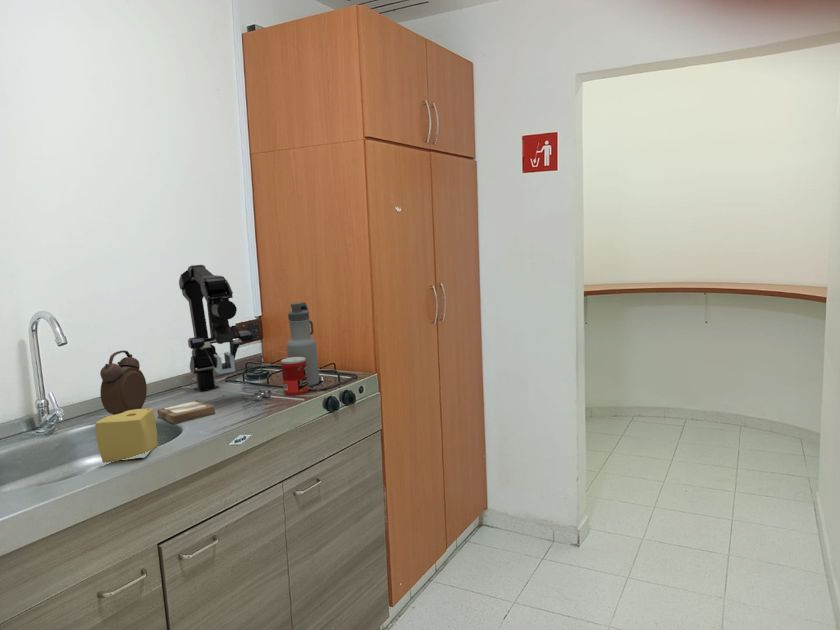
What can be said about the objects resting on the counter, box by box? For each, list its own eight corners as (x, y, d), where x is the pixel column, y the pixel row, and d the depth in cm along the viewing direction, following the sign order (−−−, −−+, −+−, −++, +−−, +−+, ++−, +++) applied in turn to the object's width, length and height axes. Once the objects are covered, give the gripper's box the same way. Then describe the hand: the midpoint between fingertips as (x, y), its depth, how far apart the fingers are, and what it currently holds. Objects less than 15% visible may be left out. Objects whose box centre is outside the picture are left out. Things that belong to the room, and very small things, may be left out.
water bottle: (296, 381, 216) (289, 302, 213) (323, 380, 215) (316, 300, 211) (286, 388, 207) (278, 305, 203) (314, 387, 205) (306, 304, 201)
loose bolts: (244, 400, 195) (244, 393, 194) (261, 393, 202) (261, 387, 201) (259, 401, 192) (259, 394, 192) (276, 394, 199) (275, 387, 199)
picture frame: (158, 417, 182) (157, 408, 182) (197, 407, 190) (196, 399, 190) (174, 424, 173) (173, 415, 173) (214, 413, 181) (213, 405, 181)
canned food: (303, 395, 196) (300, 361, 194) (280, 395, 197) (276, 362, 196) (312, 389, 203) (309, 356, 202) (289, 389, 205) (286, 357, 203)
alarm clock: (130, 410, 192) (121, 347, 189) (151, 409, 191) (143, 346, 188) (99, 425, 178) (89, 357, 175) (122, 424, 177) (113, 356, 174)
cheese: (117, 449, 155) (111, 410, 154) (161, 445, 156) (156, 406, 154) (99, 464, 145) (93, 423, 143) (146, 459, 145) (141, 418, 144)
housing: (213, 370, 197) (211, 354, 196) (229, 367, 199) (227, 352, 198) (218, 374, 190) (217, 358, 189) (235, 371, 192) (233, 355, 191)
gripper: (191, 323, 181) (197, 375, 183) (254, 315, 190) (259, 365, 192) (185, 320, 190) (191, 369, 192) (245, 312, 199) (250, 360, 201)
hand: (223, 366), depth 194 cm, fingers closed on housing, 5 cm apart
